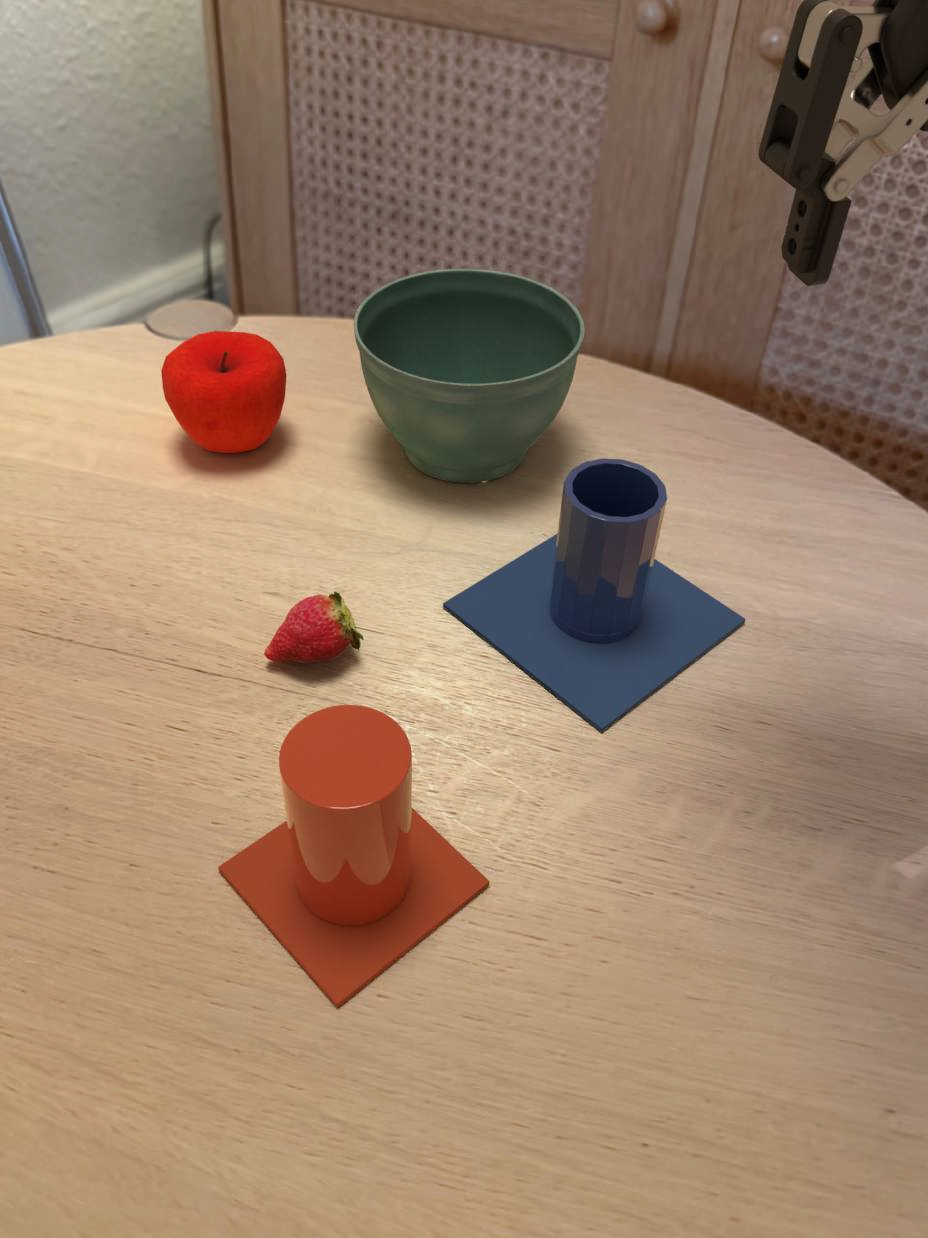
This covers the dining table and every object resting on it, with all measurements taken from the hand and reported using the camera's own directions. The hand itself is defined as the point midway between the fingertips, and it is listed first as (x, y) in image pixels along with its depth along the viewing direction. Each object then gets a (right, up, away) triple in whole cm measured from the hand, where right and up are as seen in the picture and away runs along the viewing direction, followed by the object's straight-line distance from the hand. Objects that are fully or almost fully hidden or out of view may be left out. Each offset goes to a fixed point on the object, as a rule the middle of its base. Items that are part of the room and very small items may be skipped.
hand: (892, 265), depth 46 cm
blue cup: (-10, -15, +24) cm, 30 cm away
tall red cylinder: (-24, -28, +10) cm, 38 cm away
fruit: (-28, -18, +21) cm, 39 cm away
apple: (-36, -2, +37) cm, 51 cm away
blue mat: (-10, -15, +24) cm, 30 cm away
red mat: (-24, -29, +10) cm, 39 cm away
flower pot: (-18, -2, +37) cm, 41 cm away
